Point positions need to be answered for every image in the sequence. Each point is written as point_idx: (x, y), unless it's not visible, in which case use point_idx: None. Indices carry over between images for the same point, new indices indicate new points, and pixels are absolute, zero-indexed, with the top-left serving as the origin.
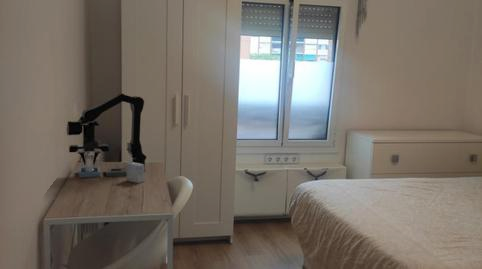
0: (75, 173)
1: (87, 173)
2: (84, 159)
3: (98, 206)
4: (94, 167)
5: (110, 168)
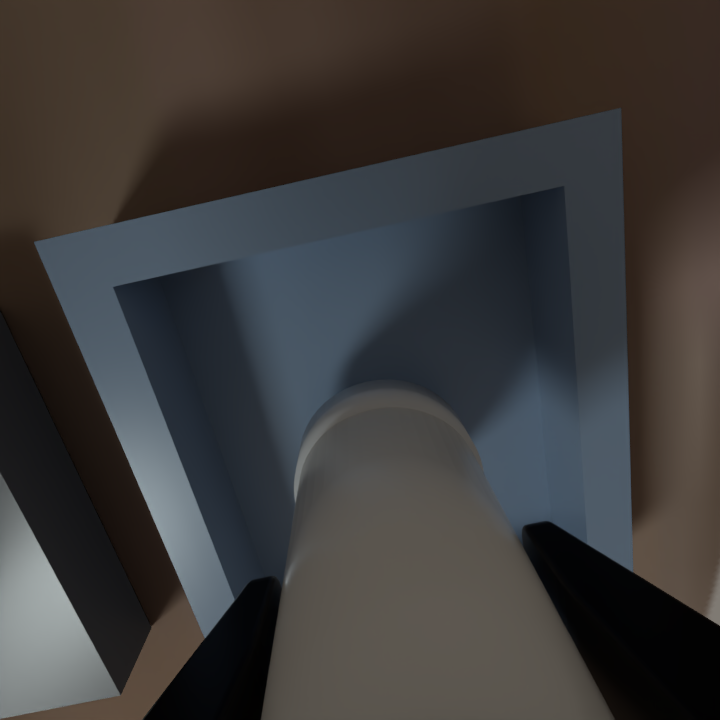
0: (637, 497)
1: (376, 165)
2: (710, 701)
3: None
4: None
5: (4, 675)
